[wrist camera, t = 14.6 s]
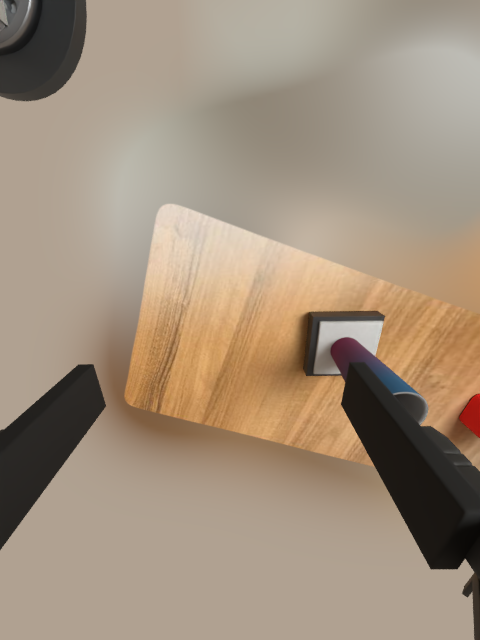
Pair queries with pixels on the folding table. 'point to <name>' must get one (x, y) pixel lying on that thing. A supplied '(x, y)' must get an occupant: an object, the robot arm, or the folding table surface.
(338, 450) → the folding table surface
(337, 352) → the cup
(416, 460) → the robot arm
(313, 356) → the scale
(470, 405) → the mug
